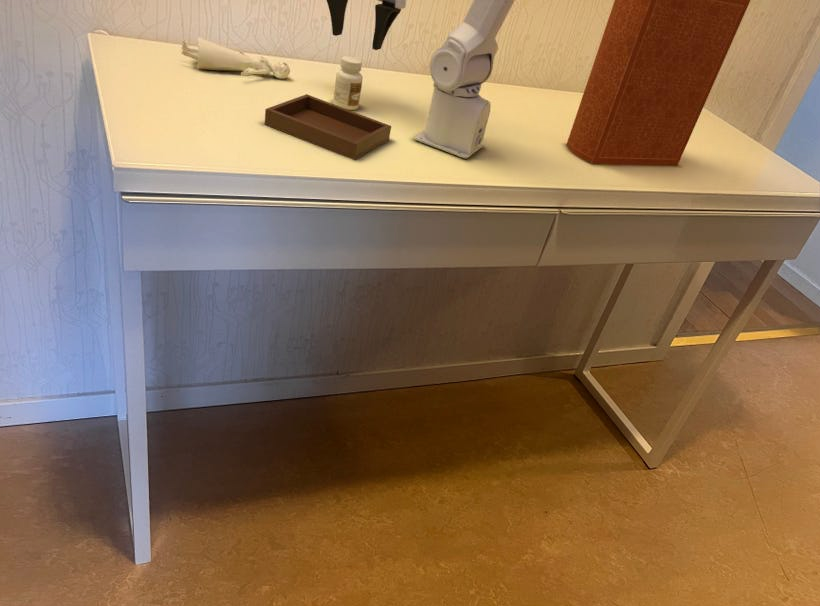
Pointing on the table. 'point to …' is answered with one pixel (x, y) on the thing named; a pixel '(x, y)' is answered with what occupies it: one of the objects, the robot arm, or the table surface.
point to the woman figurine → (231, 60)
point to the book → (652, 79)
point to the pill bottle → (348, 83)
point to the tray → (328, 125)
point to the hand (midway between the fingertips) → (356, 41)
